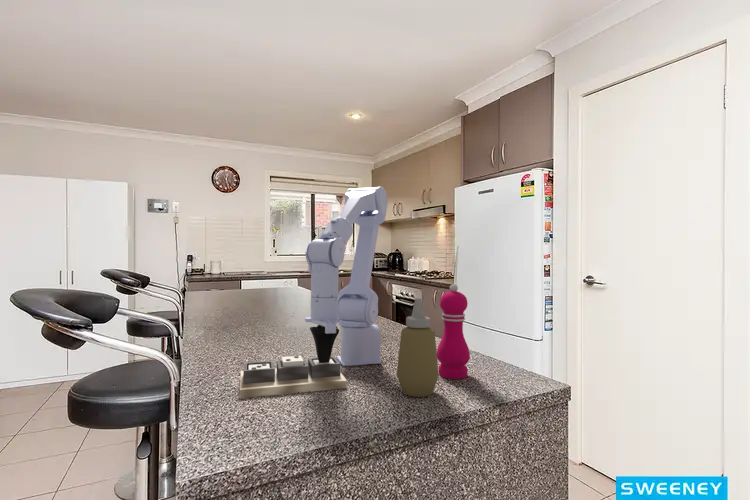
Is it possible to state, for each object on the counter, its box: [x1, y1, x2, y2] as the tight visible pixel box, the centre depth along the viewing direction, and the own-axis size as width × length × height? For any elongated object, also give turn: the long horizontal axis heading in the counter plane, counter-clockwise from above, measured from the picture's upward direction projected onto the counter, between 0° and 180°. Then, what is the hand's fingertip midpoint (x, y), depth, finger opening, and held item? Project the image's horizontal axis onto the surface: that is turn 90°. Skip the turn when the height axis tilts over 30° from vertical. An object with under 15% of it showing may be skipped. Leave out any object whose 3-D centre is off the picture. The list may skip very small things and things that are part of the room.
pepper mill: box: [436, 283, 471, 380], centre depth 87 cm, size 7×7×20 cm
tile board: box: [238, 356, 348, 399], centre depth 81 cm, size 20×12×4 cm, turn 107°
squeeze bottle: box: [396, 297, 440, 398], centre depth 76 cm, size 8×8×18 cm
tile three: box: [249, 364, 270, 370], centre depth 79 cm, size 4×4×2 cm
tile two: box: [281, 355, 304, 367], centre depth 81 cm, size 4×4×2 cm
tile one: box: [313, 359, 334, 365], centre depth 83 cm, size 4×4×2 cm
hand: (323, 361), depth 83 cm, fingers closed, pressing on tile one
